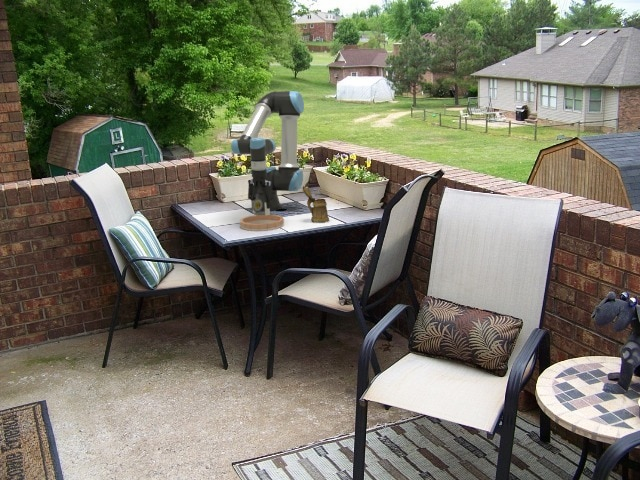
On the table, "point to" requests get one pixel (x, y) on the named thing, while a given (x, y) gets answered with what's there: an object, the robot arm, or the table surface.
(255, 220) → the round dish
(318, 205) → the wooden mug
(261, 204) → the pocket watch
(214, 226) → the table surface
